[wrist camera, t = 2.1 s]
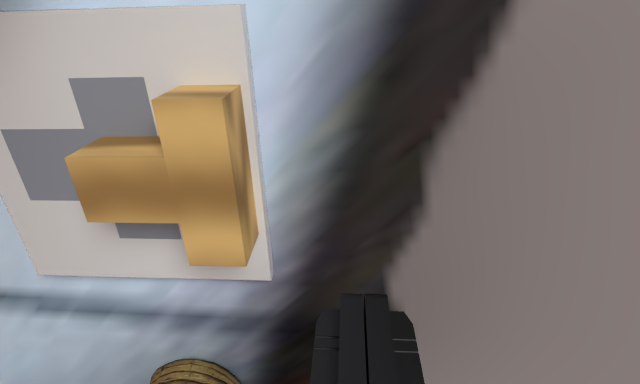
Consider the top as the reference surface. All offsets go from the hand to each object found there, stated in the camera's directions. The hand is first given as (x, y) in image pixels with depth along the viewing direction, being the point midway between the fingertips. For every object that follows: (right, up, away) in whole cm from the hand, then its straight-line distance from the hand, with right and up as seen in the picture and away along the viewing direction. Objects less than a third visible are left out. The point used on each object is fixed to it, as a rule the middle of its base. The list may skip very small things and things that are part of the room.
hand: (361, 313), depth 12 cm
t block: (-10, +6, +11) cm, 16 cm away
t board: (-14, +6, +13) cm, 20 cm away
